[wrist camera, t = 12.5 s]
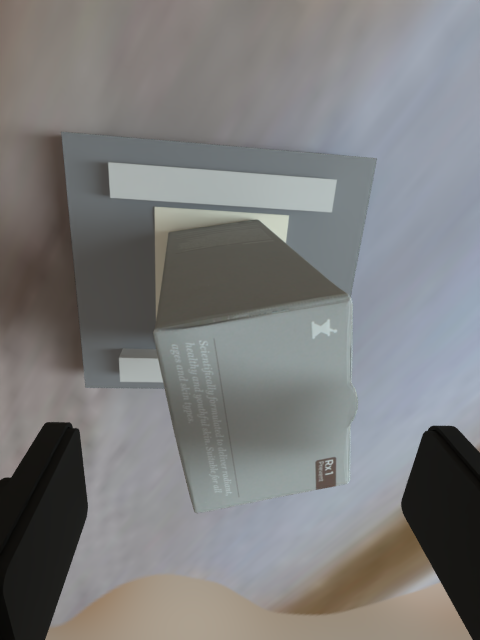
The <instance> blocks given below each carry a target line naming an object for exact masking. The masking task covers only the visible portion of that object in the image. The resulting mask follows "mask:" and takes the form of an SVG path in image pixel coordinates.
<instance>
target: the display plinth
mask: <svg viewBox="0 0 480 640" xmlns="http://www.w3.org/2000/svg"><path fill="white" fill-rule="evenodd" d="M61 134H62V145H63V156H64V166H65V177H66V187H67V198H68V208H69V219H70V230H71V240H72V251H73V261H74V272H75V282H76V293H77V303H78V314H79V325H80V335H81V346H82V356H83V367H84V377H85V388H153V389H165V388H164V384H163V379H162V375H161V370H160V365H159V361H158V356H157V351H156V346H155V341H154V336H153V331H154V329H155V324H156V318H157V311H158V304H159V297H160V291H161V284H162V277H163V270H164V262H165V254H166V248H167V240H168V233H169V232H173V231H180V230H187V229H194V228H201V227H208V226H215V225H222V224H229V223H236V222H243V221H250V220H259V221H261V222H262V223H263V224H264V225H265V226H267V227H268V228H269V229H270V230H271V231H272V232H273V233H275V234H276V235H277V236H278V237H279V238H281V239H282V240H283V241H284V242H285V243H286V244H287V245H289V246H290V247H291V248H292V249H293V250H295V251H296V252H297V253H298V254H299V255H301V256H302V257H303V258H304V259H305V260H306V261H308V262H309V263H310V264H311V265H312V266H313V267H315V268H316V269H317V270H318V271H320V272H321V273H322V274H323V275H324V276H325V277H327V278H328V279H329V280H330V281H331V282H333V283H334V284H335V285H336V286H337V287H338V288H340V289H342V290H343V291H345V292H346V293H347V294H348V295H349V297H351V292H352V287H353V282H354V276H355V271H356V266H357V261H358V255H359V250H360V245H361V240H362V234H363V229H364V224H365V219H366V214H367V208H368V203H369V198H370V193H371V187H372V182H373V177H374V172H375V166H376V161H377V158H368V157H356V156H344V155H332V154H321V153H309V152H297V151H285V150H273V149H261V148H249V147H237V146H225V145H213V144H201V143H189V142H177V141H166V140H154V139H142V138H130V137H118V136H106V135H94V134H82V133H70V132H61Z"/></svg>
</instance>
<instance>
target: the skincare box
mask: <svg viewBox="0 0 480 640" xmlns="http://www.w3.org/2000/svg"><path fill="white" fill-rule="evenodd" d="M352 329H353V304H352V299H351V298H350V297H349V295H348V294H347V293H346V292H345V291H343V290H342V289H340V288H338V287H337V286H336V285H335V284H334V283H333V282H331V281H330V280H329V279H328V278H327V277H325V276H324V275H323V274H322V273H321V272H320V271H318V270H317V269H316V268H315V267H313V266H312V265H311V264H310V263H309V262H308V261H306V260H305V259H304V258H303V257H302V256H301V255H299V254H298V253H297V252H296V251H295V250H293V249H292V248H291V247H290V246H289V245H287V244H286V243H285V242H284V241H283V240H282V239H281V238H279V237H278V236H277V235H276V234H275V233H273V232H272V231H271V230H270V229H269V228H268V227H267V226H265V225H264V224H263V223H262V222H261V221H259V220H250V221H243V222H236V223H229V224H222V225H215V226H208V227H201V228H194V229H187V230H180V231H173V232H169V233H168V240H167V248H166V254H165V262H164V270H163V277H162V284H161V291H160V297H159V304H158V311H157V318H156V324H155V329H154V331H153V336H154V341H155V346H156V351H157V356H158V361H159V365H160V370H161V375H162V379H163V384H164V388H165V392H166V397H167V401H168V406H169V411H170V415H171V420H172V425H173V429H174V433H175V438H176V442H177V446H178V450H179V454H180V458H181V462H182V466H183V471H184V475H185V479H186V483H187V487H188V490H189V494H190V498H191V502H192V505H193V509H194V512H195V513H202V512H207V511H213V510H218V509H223V508H228V507H233V506H238V505H242V504H247V503H252V502H257V501H262V500H266V499H272V498H277V497H282V496H287V495H293V494H298V493H303V492H308V491H313V490H318V489H323V488H328V487H334V486H339V485H344V484H347V483H349V481H350V424H351V423H352V421H353V419H354V418H355V415H356V412H357V409H358V398H357V393H356V390H355V388H354V387H353V385H352V383H351V379H352Z"/></svg>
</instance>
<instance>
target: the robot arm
mask: <svg viewBox="0 0 480 640" xmlns="http://www.w3.org/2000/svg"><path fill="white" fill-rule="evenodd" d="M401 507H402V511H403V514H404V516H405V518H406V520H407V522H408V523H409V525H410V527H411V529H412V531H413V533H414V534H415V536H416V538H417V540H418V542H419V543H420V545H421V547H422V549H423V551H424V552H425V554H426V556H427V558H428V560H429V561H430V563H431V565H432V567H433V569H434V571H435V572H436V574H437V576H438V578H439V580H440V581H441V583H442V585H443V587H444V589H445V590H446V592H447V594H448V596H449V598H450V599H451V601H452V603H453V605H454V607H455V608H456V610H457V612H458V614H459V616H460V618H461V619H462V621H463V623H464V625H465V627H466V628H467V630H468V632H469V634H470V636H471V637H472V639H473V640H480V453H479V451H478V450H477V449H476V448H475V447H474V446H473V445H472V444H471V443H470V442H469V441H468V440H467V439H466V438H465V436H464V435H463V434H462V433H461V432H460V431H459V430H458V429H457V428H456V427H454V426H431V427H430V428H429V429H428V431H425V432H424V434H423V436H422V439H421V442H420V445H419V448H418V451H417V454H416V458H415V461H414V464H413V467H412V470H411V473H410V476H409V479H408V482H407V485H406V488H405V492H404V495H403V498H402V502H401ZM87 511H88V502H87V493H86V484H85V476H84V467H83V458H82V449H81V440H80V432H79V429H77V428H73V427H72V424H71V423H65V422H47V423H45V424H44V426H43V427H42V429H41V430H40V432H39V434H38V435H37V437H36V438H35V440H34V442H33V443H32V445H31V446H30V448H29V450H28V451H27V453H26V455H25V456H24V458H23V459H22V461H21V463H20V464H19V466H18V467H17V469H16V471H15V472H14V474H13V476H12V477H11V478H3V479H1V480H0V640H45V638H46V635H47V632H48V630H49V627H50V624H51V621H52V618H53V615H54V612H55V609H56V606H57V603H58V600H59V597H60V594H61V591H62V588H63V585H64V582H65V579H66V577H67V574H68V571H69V568H70V565H71V562H72V559H73V556H74V553H75V550H76V547H77V544H78V541H79V538H80V535H81V532H82V529H83V526H84V524H85V520H86V517H87Z"/></svg>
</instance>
